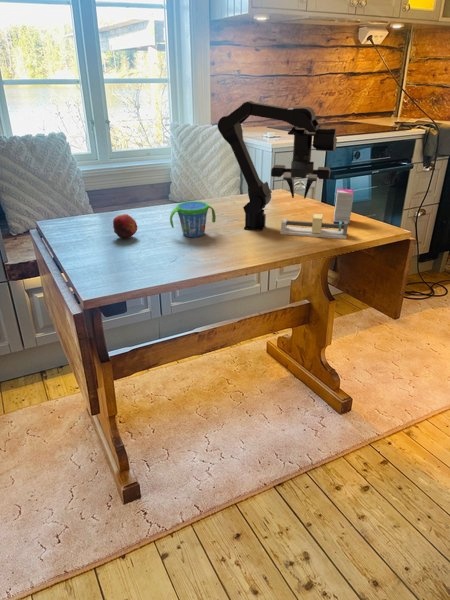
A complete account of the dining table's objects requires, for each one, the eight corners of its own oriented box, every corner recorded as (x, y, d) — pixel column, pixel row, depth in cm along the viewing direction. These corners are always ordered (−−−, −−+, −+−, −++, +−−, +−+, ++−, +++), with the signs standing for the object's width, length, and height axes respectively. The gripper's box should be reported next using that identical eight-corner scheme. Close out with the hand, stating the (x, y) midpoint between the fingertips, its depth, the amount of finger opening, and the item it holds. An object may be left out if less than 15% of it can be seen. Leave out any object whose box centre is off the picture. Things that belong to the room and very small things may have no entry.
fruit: (141, 235, 159) (139, 212, 155) (131, 243, 152) (129, 219, 148) (120, 233, 160) (118, 210, 157) (110, 241, 154) (107, 217, 150)
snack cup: (173, 241, 153) (171, 211, 149) (168, 231, 162) (167, 202, 158) (219, 237, 157) (218, 207, 152) (212, 227, 166) (211, 199, 161)
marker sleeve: (311, 232, 157) (312, 218, 155) (312, 228, 161) (314, 213, 159) (320, 233, 156) (322, 218, 154) (321, 228, 160) (322, 214, 158)
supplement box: (350, 224, 168) (353, 193, 163) (333, 223, 169) (336, 192, 164) (349, 219, 173) (353, 189, 168) (333, 218, 174) (336, 188, 169)
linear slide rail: (280, 234, 159) (281, 220, 157) (282, 228, 164) (283, 215, 162) (346, 239, 154) (347, 225, 152) (346, 233, 160) (348, 219, 157)
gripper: (269, 153, 143) (267, 202, 150) (331, 155, 139) (326, 206, 146) (274, 147, 153) (272, 194, 160) (332, 149, 149) (327, 197, 156)
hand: (298, 198), depth 155 cm, fingers open, 4 cm apart
